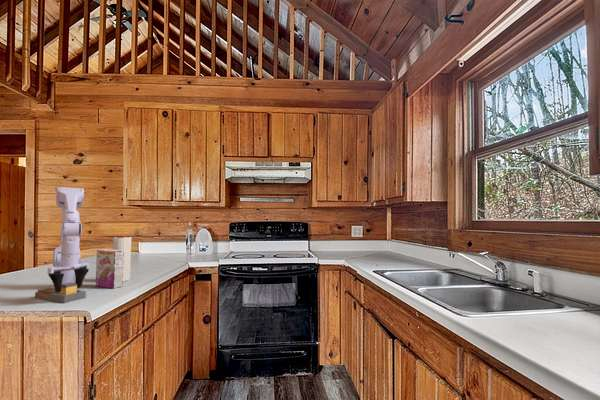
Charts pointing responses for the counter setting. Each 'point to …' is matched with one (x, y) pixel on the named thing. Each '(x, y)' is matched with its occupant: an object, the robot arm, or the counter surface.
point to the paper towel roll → (125, 246)
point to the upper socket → (45, 293)
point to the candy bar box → (109, 268)
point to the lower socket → (67, 296)
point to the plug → (68, 288)
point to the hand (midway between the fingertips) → (68, 289)
